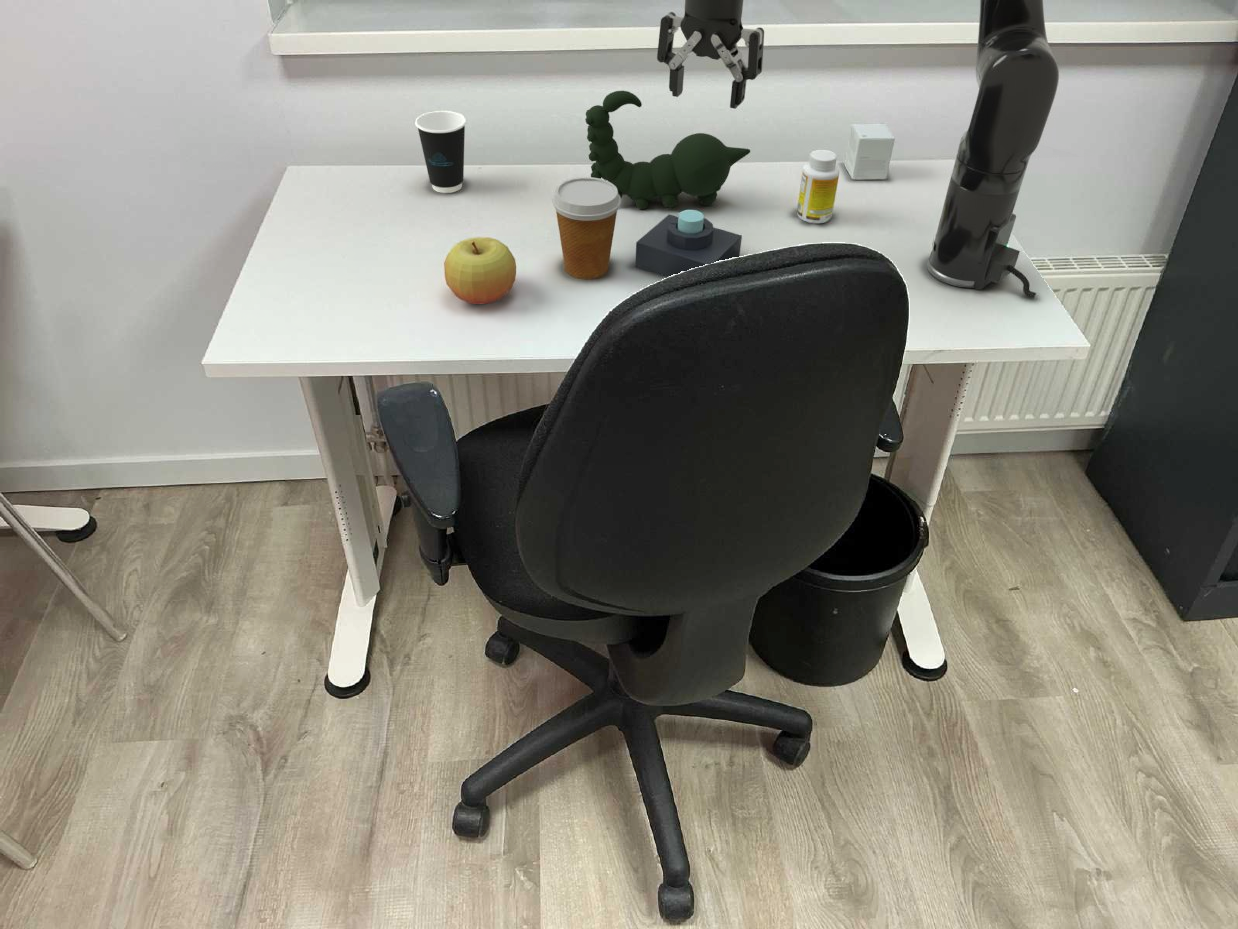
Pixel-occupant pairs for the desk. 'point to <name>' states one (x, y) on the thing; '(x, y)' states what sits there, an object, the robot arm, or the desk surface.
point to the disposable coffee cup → (586, 224)
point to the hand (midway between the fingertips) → (705, 100)
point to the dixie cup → (443, 148)
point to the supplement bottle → (818, 187)
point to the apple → (480, 270)
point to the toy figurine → (658, 161)
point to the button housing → (684, 247)
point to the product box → (869, 151)
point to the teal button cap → (690, 221)
